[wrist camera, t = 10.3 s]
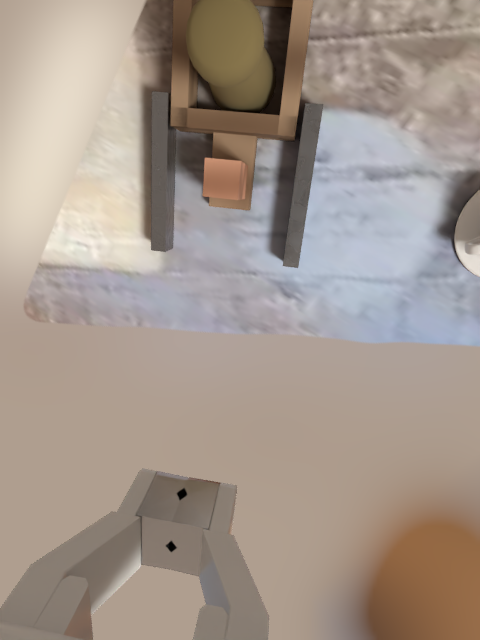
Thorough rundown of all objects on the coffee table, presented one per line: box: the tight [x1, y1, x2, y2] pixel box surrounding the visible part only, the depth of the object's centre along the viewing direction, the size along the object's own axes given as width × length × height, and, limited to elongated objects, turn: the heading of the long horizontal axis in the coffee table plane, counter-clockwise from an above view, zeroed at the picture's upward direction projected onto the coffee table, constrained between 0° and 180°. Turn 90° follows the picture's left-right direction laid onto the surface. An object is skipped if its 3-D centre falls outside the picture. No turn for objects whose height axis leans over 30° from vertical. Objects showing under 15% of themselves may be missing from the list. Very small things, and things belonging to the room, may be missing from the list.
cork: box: [186, 0, 276, 114], centre depth 27 cm, size 6×6×11 cm
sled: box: [171, 0, 313, 210], centre depth 30 cm, size 18×11×6 cm, turn 174°
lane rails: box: [151, 91, 323, 268], centre depth 34 cm, size 14×15×2 cm
